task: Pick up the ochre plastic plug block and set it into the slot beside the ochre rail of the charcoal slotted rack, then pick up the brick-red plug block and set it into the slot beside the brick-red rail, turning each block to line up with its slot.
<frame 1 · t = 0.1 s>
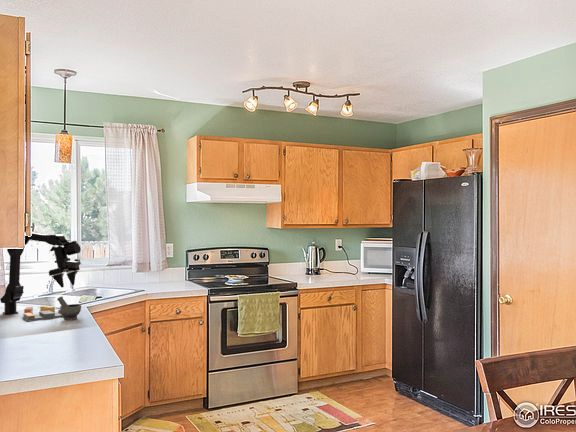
hand: (68, 286, 270), 15 cm above the worktop, tool pointing down, fingers open, 9 cm apart
ochre plug: (47, 314, 274), on the worktop
mortar and pestle: (69, 320, 258), on the worktop
brick plug: (28, 315, 270), on the worktop
slot rack: (46, 317, 264), on the worktop
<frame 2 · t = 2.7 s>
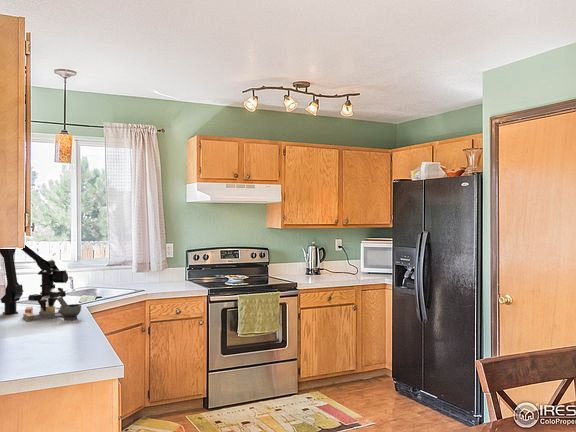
hand: (47, 311, 274), 1 cm above the worktop, tool pointing down, fingers closed on ochre plug, 3 cm apart
ochre plug: (47, 313, 274), on the worktop, touching gripper
everything else where it was.
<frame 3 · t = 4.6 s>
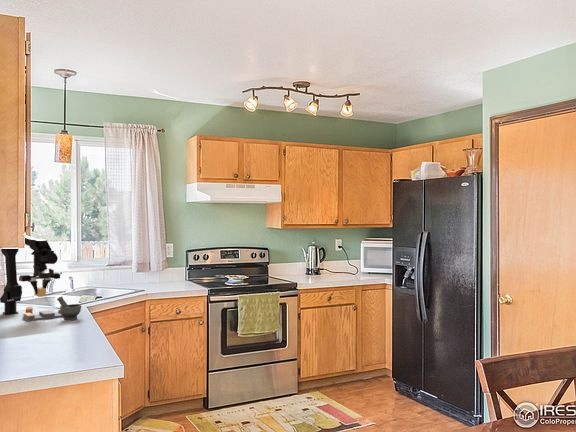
hand: (40, 293, 264), 12 cm above the worktop, tool pointing down, fingers closed on ochre plug, 3 cm apart
ochre plug: (40, 295, 264), point 11 cm above the worktop, touching gripper
everything else where it was.
when the fingers open (4 cm above the worktop, at t = 6.6 s): ochre plug drops 2 cm, resting on slot rack.
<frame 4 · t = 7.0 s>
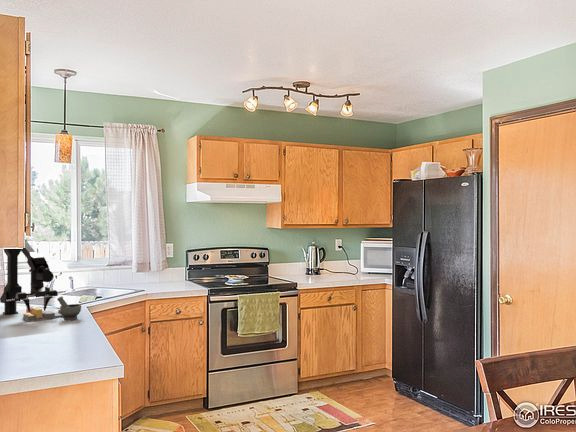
hand: (36, 311, 261), 4 cm above the worktop, tool pointing down, fingers open, 7 cm apart
ochre plug: (37, 316, 261), point 1 cm above the worktop, touching slot rack
everything else where it was.
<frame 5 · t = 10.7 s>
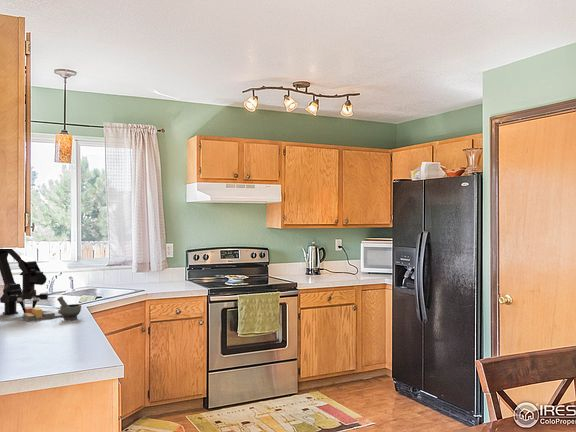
hand: (28, 313, 270), 1 cm above the worktop, tool pointing down, fingers closed on brick plug, 3 cm apart
brick plug: (28, 315, 270), on the worktop, touching gripper
everything else where it was.
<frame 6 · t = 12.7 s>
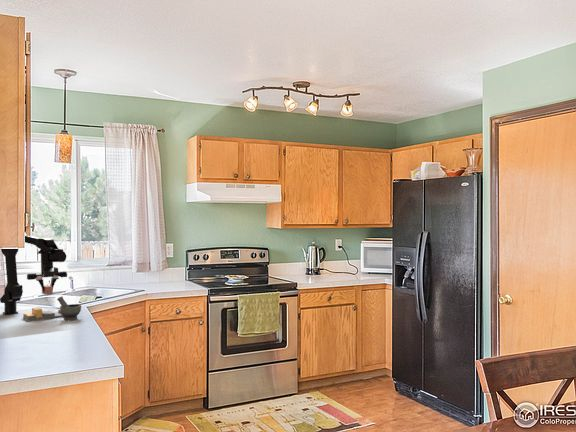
hand: (47, 291, 268), 13 cm above the worktop, tool pointing down, fingers closed on brick plug, 3 cm apart
brick plug: (47, 293, 269), point 12 cm above the worktop, touching gripper
everything else where it was.
when the fingers open (4 cm above the worktop, at t = 14.9 s): brick plug drops 2 cm, resting on slot rack.
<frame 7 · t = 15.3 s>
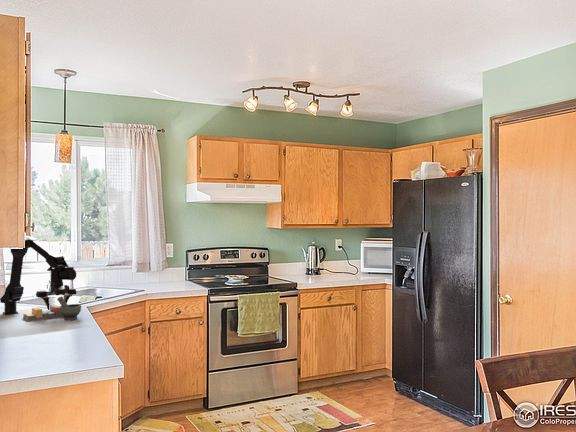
hand: (56, 309, 267), 4 cm above the worktop, tool pointing down, fingers open, 7 cm apart
brick plug: (55, 314, 268), point 1 cm above the worktop, touching slot rack
everything else where it was.
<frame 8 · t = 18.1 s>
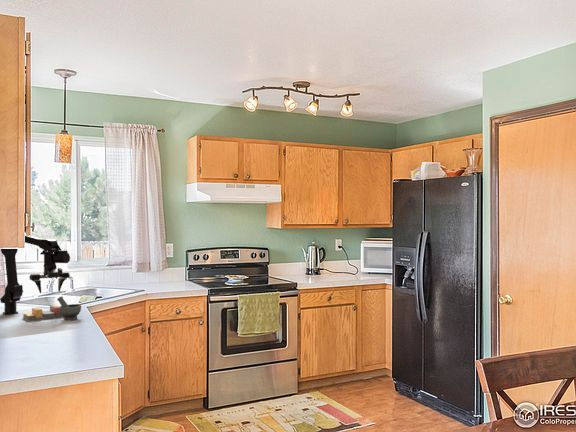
hand: (49, 292, 271), 12 cm above the worktop, tool pointing down, fingers open, 9 cm apart
nothing on the worktop moved.
at the end: ochre plug 0.1 cm from the target spot on the slot rack, point 1.0 cm above the slot rack's base; brick plug 0.7 cm from the target spot on the slot rack, point 1.0 cm above the slot rack's base; the gripper is holding nothing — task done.
